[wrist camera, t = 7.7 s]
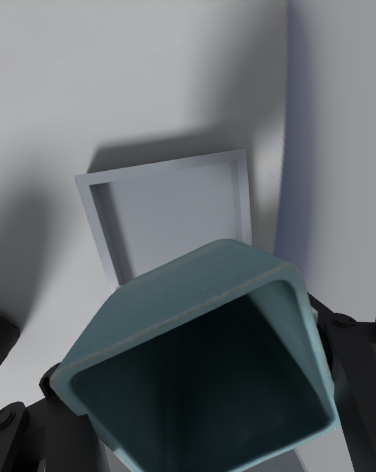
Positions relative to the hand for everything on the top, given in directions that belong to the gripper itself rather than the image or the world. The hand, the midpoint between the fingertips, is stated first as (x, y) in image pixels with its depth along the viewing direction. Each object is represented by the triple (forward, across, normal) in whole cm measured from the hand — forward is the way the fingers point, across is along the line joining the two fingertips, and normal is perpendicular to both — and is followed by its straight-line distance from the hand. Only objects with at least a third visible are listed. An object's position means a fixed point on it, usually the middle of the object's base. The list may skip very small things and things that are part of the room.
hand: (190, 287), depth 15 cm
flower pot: (+1, 0, 0) cm, 1 cm away
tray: (+14, 0, 0) cm, 14 cm away
